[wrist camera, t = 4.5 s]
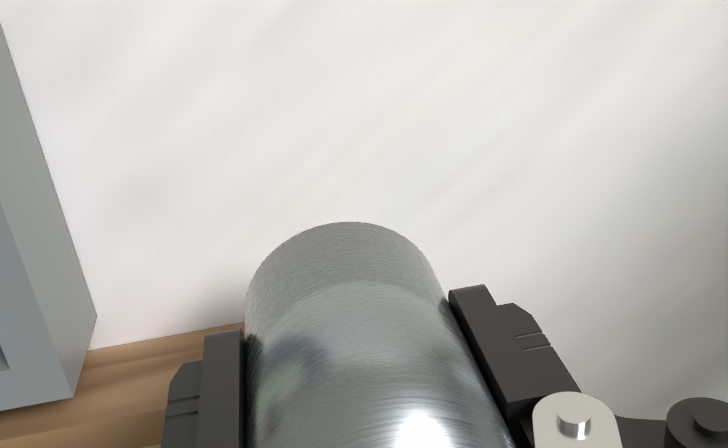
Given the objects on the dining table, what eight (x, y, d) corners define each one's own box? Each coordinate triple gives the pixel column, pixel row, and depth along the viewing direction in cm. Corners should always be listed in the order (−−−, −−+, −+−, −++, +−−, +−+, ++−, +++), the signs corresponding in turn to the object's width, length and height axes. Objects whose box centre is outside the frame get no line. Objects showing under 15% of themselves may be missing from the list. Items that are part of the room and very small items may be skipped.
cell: (432, 206, 15) (568, 449, 9) (443, 366, 17) (560, 657, 11) (227, 240, 14) (213, 522, 8) (264, 401, 17) (276, 723, 10)
